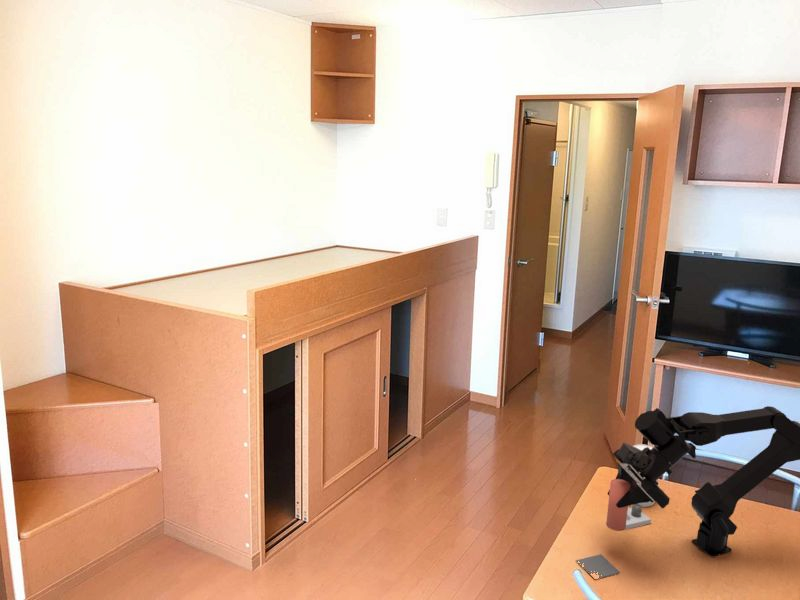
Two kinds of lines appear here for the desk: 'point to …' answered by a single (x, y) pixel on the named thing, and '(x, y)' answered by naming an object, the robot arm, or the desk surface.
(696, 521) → the desk surface
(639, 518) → the plug tray
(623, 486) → the red plug
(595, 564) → the pad
